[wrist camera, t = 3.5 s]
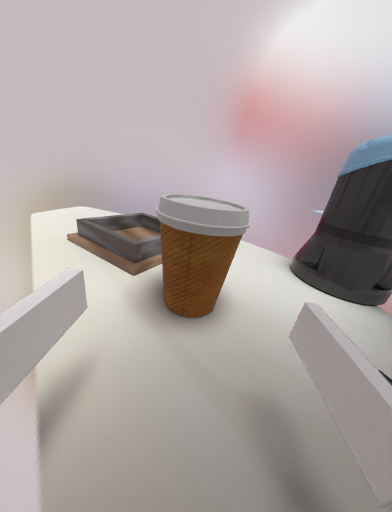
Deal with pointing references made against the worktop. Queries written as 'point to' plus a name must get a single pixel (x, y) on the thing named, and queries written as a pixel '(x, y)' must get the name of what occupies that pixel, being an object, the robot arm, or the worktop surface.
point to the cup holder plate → (122, 240)
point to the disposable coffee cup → (197, 249)
